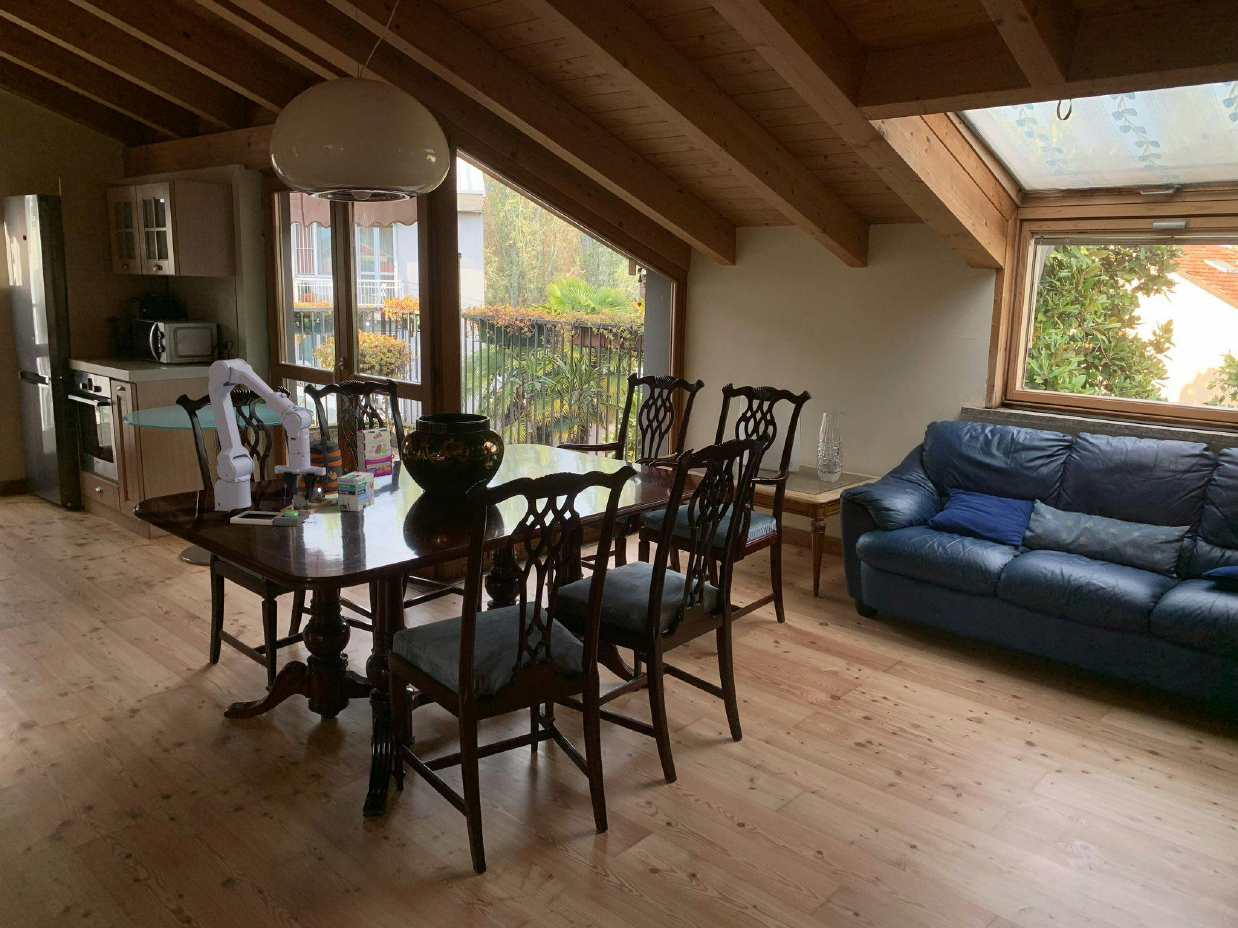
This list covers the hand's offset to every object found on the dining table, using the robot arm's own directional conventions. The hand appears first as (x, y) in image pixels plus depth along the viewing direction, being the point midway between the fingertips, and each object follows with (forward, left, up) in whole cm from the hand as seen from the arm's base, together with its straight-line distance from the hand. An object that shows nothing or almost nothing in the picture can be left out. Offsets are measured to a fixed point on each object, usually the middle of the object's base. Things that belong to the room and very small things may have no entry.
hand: (301, 498), depth 268 cm
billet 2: (0, +9, -4) cm, 10 cm away
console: (+2, -10, -5) cm, 12 cm away
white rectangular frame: (-8, -9, -5) cm, 13 cm away
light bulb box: (+13, +9, -5) cm, 16 cm away
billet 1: (0, -1, -4) cm, 4 cm away
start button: (+2, -10, -3) cm, 11 cm away
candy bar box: (-1, +59, -5) cm, 59 cm away
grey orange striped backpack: (-5, +26, -5) cm, 26 cm away
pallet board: (0, +5, -5) cm, 7 cm away
